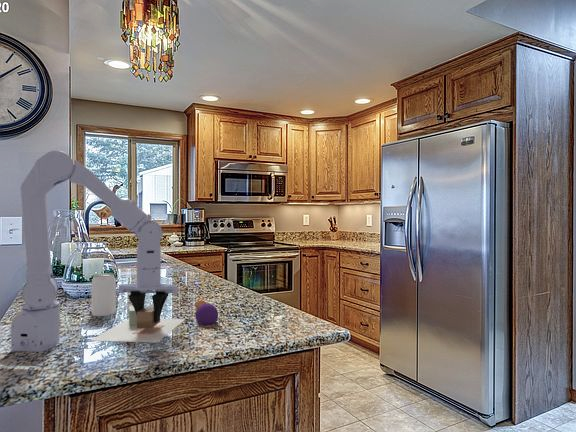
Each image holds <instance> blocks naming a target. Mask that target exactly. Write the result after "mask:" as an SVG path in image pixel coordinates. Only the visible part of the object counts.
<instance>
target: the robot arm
mask: <svg viewBox="0 0 576 432" xmlns="http://www.w3.org/2000/svg"><path fill="white" fill-rule="evenodd" d="M67 180H69V181H70V183H72V184H75V185H80V186H83V187H85V188H86V189H87V190H89V192H91V193H92V194H94V195H95V196H96V197H97V198H98V199H100V201H102V202H103V203H104V204H106V205H107V206H108V207H109V208H110V216H112V218H113V219H115V220H116V221H117V222H118V223H120V224H121V225H122V226H124V228H126V230H128V231H129V232H131V233H134V236H135V237H136V239H137V249H136V283H122V284H119V287H118V291H119V292H118V293H119V294H124V293H129V294H130V295H128V300H129V302H130V303H131V306H133V307H134V309H135V312H136V315H137V312H138V311H140V310H141V309H143V308H145V302H146V301H145V300H146V295H147V294H151V293H152V294H153V295H152V296H151V298H152V299H151V300H152V306H154V323H157V322H158V321H160V319H161V315H162V310H163V308H164V305H165V303H166V301H167V299H168V297H169V294H172V295H176V294H178V293H179V284H169V283H161V281H162V280H161V273H162V270H161V267H162V265H161V263H162V260H161V258H162V255H161V254H162V253H161V240H162V239H163V235H164V232H163V230H162V227H161V226H162V225H160V224H159V223H158V222H156V221H154V220H152V219H151V218H152V215H151V214H149V213H148V214H147V213H146V212H144V211H143V210H142V209H141V208H140V207H139V206H137V205H138V202H137V200H134V199H133V200H131V199H130V198H127V197H125V198H123V197H122V198H121V197H119V196H118V195H117V194H116V193H115V192H114V191H113V190H111V189H110V188H109V187H108V186H107V185H106V184H105V182H103V181H102V180H101V179H100V178H99V177H98V176H96V175H95V174H94V173H93V172H92V170H90V169H89V168H87V167H86V166H84V165H83V164H82V163H81V162H79V161H77V160H76V159H74V161H73V158H72V157H71V156H70V154H68V153H66V152H65V151H62V150H51V151H48V152H46V153H45V154H43V155H42V156H41V157H39V158H38V159H36V161H35V163H34V165H33V166H32V168H31V169H30V171H29V172H28V174H27V175H26V177H25V178H24V180H23V181H22V183H21V185H20V196H21V208H22V210H21V211H22V219H23V220H22V221H23V230H24V231H23V232H24V233H23V234H24V242H25V243H24V245H25V258H26V275H25V277H26V279H25V280H26V282H25V286H24V288H23V291H22V300H23V302H24V303H23V304H22V305H21V306H22V309H21V311H20V313H18V314H16V315H15V316H14V317H13V319H12V320H11V326H10V334H11V336H10V339H11V340H10V347H11V348H9V349H7V351H8V352H9V351H10V352H12V351H13V352H36V353H37V352H40V353H42V352H44V351H46V350H48V349H50V348H52V347H54V346H56V345H58V344H60V343H62V342H64V341H66V340H68V339H69V338H68V337H60V333H61V332H60V330H61V329H60V323H61V322H60V321H61V320H60V316H61V315H60V309H61V308H60V307H61V305H60V304H61V303H60V301H59V300H57V299H56V297H57V293H58V291H59V283H58V280H57V279H56V277H55V275H54V273H53V266H52V261H51V260H52V259H51V247H50V234H49V233H50V232H49V224H48V223H49V221H48V212H47V211H48V208H47V197H46V196H47V194H48V193H49V192H50V191H52V190H53V188H55V187H56V186H57V185H59V184H62V183H63V182H66V181H67Z"/></svg>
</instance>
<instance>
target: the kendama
mask: <svg viewBox="0 0 576 432" xmlns="http://www.w3.org/2000/svg"><path fill="white" fill-rule="evenodd" d="M195 308H196V311H195V319H196V322H197V323H198V324H199V325H202V326H207V325H208V326H209V325H213V324H215V323H216V321H217V320H218V317H219V312H218V309H217V307H216V306H215V305H213V304H212V303H208V302H207V301H205V300H198V301H197V302H196V304H195Z"/></svg>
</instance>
